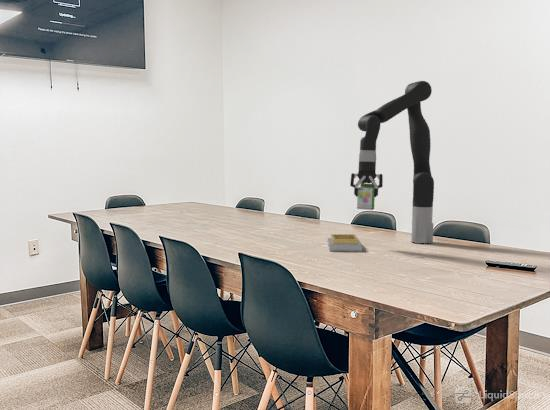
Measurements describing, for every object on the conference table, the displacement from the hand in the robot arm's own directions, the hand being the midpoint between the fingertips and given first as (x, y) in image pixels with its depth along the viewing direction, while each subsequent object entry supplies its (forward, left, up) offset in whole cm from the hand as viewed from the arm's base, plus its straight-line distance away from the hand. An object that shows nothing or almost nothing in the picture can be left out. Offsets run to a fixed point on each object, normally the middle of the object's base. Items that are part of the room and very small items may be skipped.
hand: (365, 196), depth 243 cm
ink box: (0, 0, -6) cm, 6 cm away
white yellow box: (+10, +4, -23) cm, 25 cm away
